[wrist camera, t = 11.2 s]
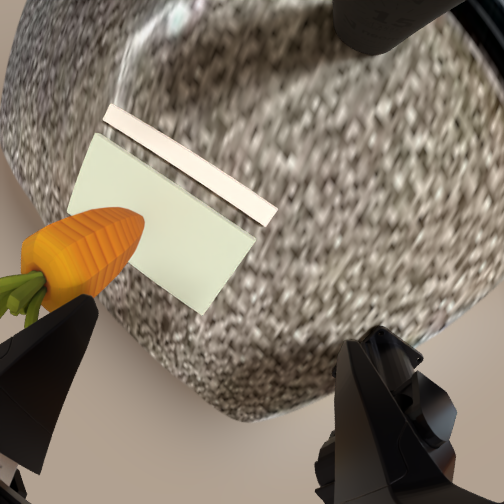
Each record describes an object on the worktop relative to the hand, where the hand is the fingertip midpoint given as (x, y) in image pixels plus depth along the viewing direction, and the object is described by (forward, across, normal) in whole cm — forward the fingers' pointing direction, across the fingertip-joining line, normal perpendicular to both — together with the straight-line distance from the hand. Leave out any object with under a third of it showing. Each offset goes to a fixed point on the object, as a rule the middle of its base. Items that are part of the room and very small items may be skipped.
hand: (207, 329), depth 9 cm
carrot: (+12, +9, +3) cm, 15 cm away
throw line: (+14, +6, -1) cm, 15 cm away
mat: (+12, +9, +4) cm, 16 cm away
